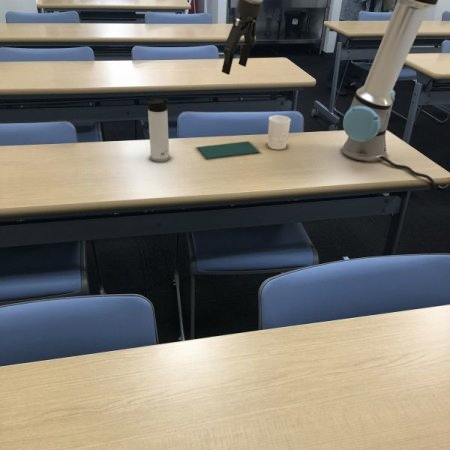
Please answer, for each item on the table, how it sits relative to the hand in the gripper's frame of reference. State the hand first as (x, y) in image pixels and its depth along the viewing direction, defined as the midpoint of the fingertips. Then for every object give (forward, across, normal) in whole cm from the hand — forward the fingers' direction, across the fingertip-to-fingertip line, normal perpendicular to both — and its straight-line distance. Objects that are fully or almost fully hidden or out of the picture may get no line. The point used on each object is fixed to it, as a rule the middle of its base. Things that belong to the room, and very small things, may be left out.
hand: (234, 69), depth 166 cm
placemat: (+24, +8, +8) cm, 27 cm away
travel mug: (+28, +26, -8) cm, 40 cm away
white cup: (+21, -5, +22) cm, 31 cm away
